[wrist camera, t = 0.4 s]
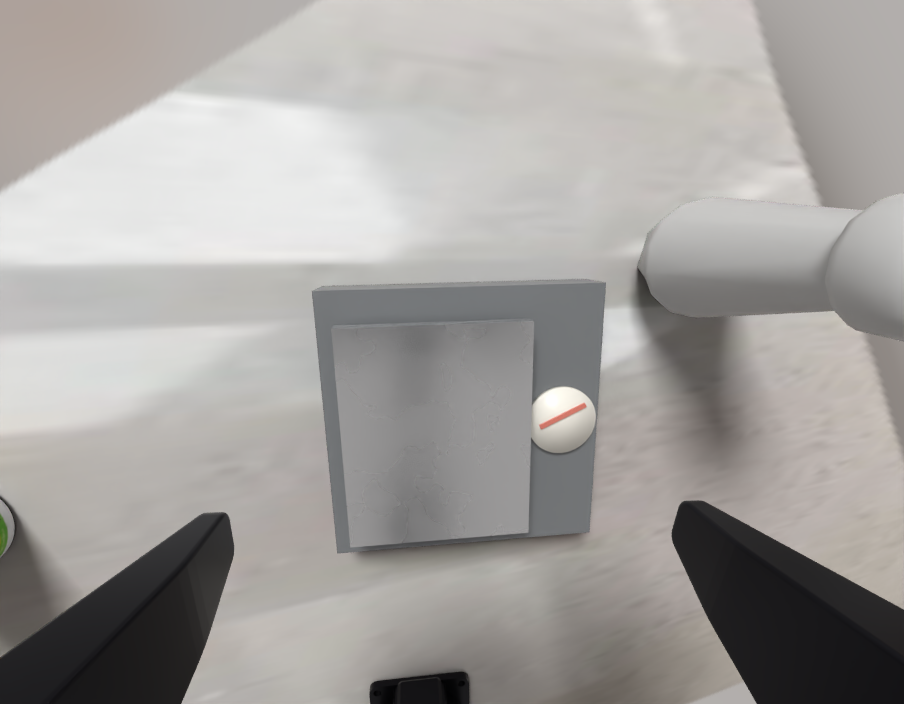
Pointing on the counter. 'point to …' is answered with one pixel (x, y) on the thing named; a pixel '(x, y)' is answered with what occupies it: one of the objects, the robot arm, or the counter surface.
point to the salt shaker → (781, 261)
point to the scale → (553, 388)
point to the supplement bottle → (5, 528)
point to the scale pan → (435, 428)
